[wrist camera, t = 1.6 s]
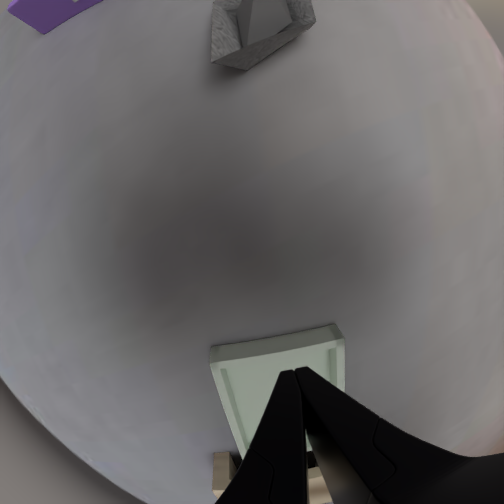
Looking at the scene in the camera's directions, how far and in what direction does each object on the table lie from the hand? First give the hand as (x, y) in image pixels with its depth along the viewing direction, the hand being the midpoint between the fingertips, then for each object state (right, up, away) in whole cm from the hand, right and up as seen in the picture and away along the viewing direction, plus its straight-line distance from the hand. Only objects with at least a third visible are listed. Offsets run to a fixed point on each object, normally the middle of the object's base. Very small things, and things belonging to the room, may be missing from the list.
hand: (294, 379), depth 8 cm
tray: (+1, -8, +13) cm, 15 cm away
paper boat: (0, +19, +7) cm, 20 cm away
